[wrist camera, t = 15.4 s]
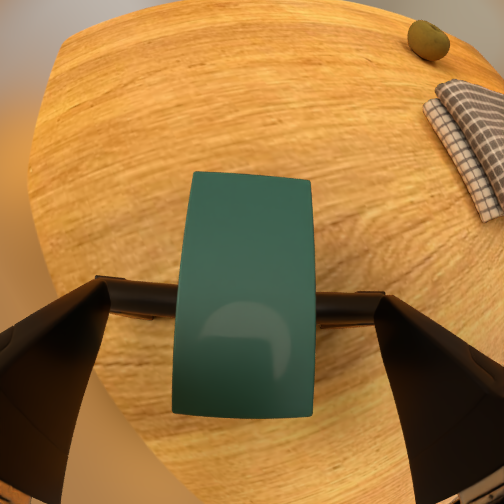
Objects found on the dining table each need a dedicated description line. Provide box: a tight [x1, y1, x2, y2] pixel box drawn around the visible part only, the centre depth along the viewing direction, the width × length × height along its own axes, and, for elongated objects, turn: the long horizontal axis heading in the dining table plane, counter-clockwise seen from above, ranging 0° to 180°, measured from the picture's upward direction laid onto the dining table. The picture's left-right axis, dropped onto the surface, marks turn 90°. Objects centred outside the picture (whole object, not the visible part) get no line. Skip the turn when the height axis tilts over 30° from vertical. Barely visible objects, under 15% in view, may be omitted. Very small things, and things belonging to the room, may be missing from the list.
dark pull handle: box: [95, 275, 385, 329], centre depth 13 cm, size 2×14×6 cm, turn 88°
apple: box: [408, 20, 450, 61], centre depth 27 cm, size 8×8×7 cm
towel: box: [423, 79, 504, 223], centre depth 20 cm, size 15×18×8 cm
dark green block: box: [172, 171, 316, 419], centre depth 12 cm, size 8×4×8 cm, turn 178°
